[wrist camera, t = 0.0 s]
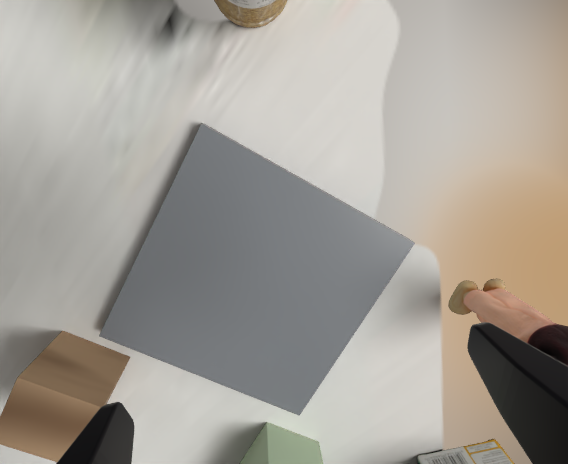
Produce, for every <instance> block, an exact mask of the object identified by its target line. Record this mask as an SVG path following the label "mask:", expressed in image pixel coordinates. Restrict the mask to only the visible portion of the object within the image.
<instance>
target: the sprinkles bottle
mask: <svg viewBox="0 0 568 464" xmlns="http://www.w3.org/2000/svg"><path fill="white" fill-rule="evenodd" d="M214 1H215V2H216V4H217V5H218V7H219V9H220V11H221V12H222V13H223V14H224V15H225V16H226V17H227V18H228V19H229V20H231V21H232V22H234V23H235V24H237V25H241V26H244V27H251V28H255V27H261V26H264V25H267V24H268V23H269V22H271V21H273V20H274V19H275V18H276V17H277V16H278V15H279V14H280V13H281V12H282V10H283V9H284V6H285V5H286V2H287V0H214Z"/></svg>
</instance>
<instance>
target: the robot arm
mask: <svg viewBox="0 0 568 464" xmlns="http://www.w3.org/2000/svg"><path fill="white" fill-rule="evenodd" d="M468 352H469V355H470V357H471V359H472V360H473V363H474V365H475V366H476V368H477V370H478V372H479V374H480V376H481V378H482V380H483V382H484V384H485V386H486V387H487V389H488V392H489V393H490V395H491V397H492V399H493V401H494V403H495V405H496V407H497V408H498V410H499V412H500V414H501V415H502V417H503V419H504V420H505V422H506V423H507V425H508V426H509V428H510V430H511V431H512V433H513V434H514V436H515V437H516V439H517V440H518V442H519V444H520V445H521V447H522V448H523V449H524V451H525V453H526V454H527V456H528V457H529V459H530V460H531V462H532V463H533V464H568V366H567V365H565V364H563V363H561V362H560V361H558V360H556V359H554V358H552V357H551V356H549V355H547V354H545V353H543V352H542V351H540V350H538V349H536V348H535V347H533V346H531V345H529V344H527V343H526V342H524V341H522V340H520V339H518V338H517V337H515V336H513V335H511V334H509V333H508V332H506V331H504V330H502V329H501V328H499V327H497V326H495V325H493V324H491V323H489V322H484V323H479V324H475V325H472V327H471V329H470V334H469V340H468ZM133 438H134V422H133V419H132V418H131V416H130V415H129V413H128V412H127V410H126V409H125V407H124V406H123V405H122V403H120V402H115V403H111V404H106V405H104V406H102V407H101V408H100V409H99V410H98V411H97V412H96V414H95V415H94V416H93V418H92V419H91V420H90V421H89V423H88V424H87V425H86V426H85V428H84V429H83V430H82V432H81V433H80V434H79V435H78V437H77V438H76V439H75V440H74V442H73V443H72V444H71V446H70V447H69V448H68V449H67V451H66V452H65V453H64V454H63V456H62V457H61V458H60V460H59V461H58V462H57V463H56V464H131V461H132V450H133Z"/></svg>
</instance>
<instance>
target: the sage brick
mask: <svg viewBox="0 0 568 464" xmlns="http://www.w3.org/2000/svg"><path fill="white" fill-rule="evenodd" d="M240 464H323V460H322V455H321V450H320V446H319V442H318V441H315V440H313V439H310V438H307V437H305V436H302V435H300V434H297V433H294V432H292V431H289V430H287V429H284V428H281V427H279V426H276V425H274V424H271V423H268V422H266V424H265V425H264V427H263V428H262V430H261V432H260V433H259V435H258V436H257V438H256V439H255V441H254V442H253V444H252V445H251V447H250V449H249V450H248V452H247V453H246V455H245V456H244V458H243V459H242V461H241V462H240Z"/></svg>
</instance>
